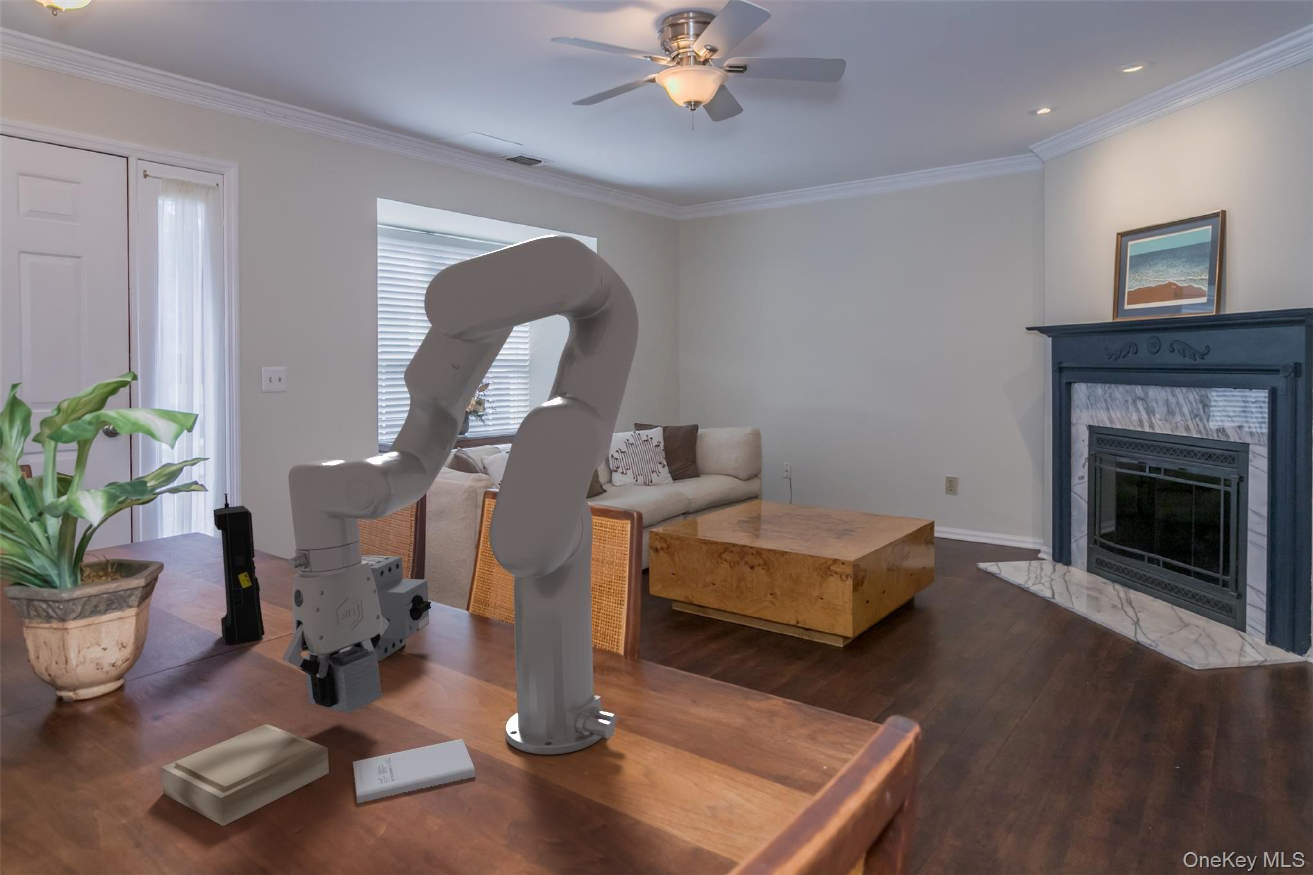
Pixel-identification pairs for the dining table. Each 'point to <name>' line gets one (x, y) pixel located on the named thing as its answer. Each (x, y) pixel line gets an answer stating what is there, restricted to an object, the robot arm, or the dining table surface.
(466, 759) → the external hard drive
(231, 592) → the portable radio
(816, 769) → the dining table surface
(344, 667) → the housing
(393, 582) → the circuit breaker
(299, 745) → the stand
